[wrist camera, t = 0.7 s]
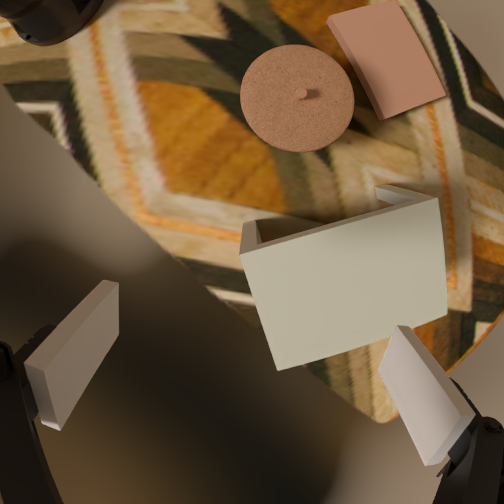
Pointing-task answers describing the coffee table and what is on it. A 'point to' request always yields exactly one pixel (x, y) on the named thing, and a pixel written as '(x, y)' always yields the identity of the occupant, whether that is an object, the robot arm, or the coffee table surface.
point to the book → (386, 57)
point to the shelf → (348, 278)
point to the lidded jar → (297, 98)
